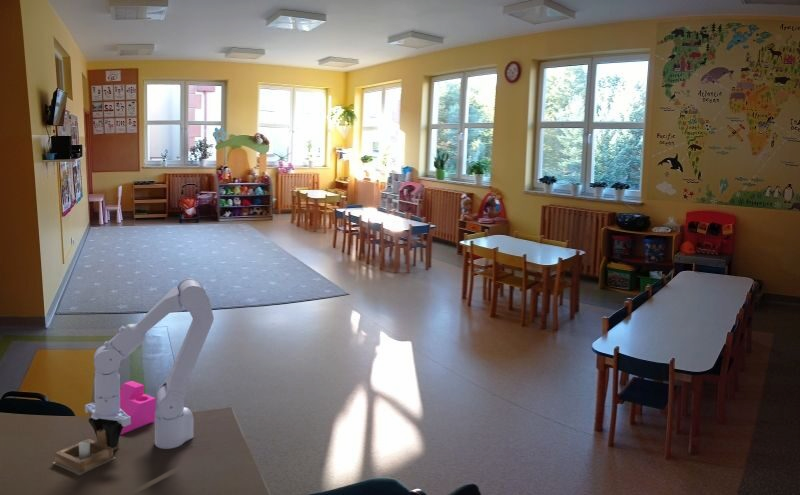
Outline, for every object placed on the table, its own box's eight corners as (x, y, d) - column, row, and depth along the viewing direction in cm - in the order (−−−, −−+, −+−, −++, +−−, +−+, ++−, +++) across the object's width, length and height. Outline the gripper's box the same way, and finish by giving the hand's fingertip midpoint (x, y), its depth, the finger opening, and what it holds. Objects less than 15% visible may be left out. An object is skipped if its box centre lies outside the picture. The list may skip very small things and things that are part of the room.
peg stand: (89, 450, 160) (89, 430, 159) (116, 461, 156) (116, 440, 155) (52, 466, 151) (51, 445, 151) (79, 479, 147) (79, 456, 146)
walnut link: (103, 442, 163) (102, 421, 162) (126, 451, 159) (126, 430, 158) (55, 462, 152) (54, 441, 151) (79, 473, 147) (79, 451, 147)
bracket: (131, 414, 182) (131, 380, 181) (155, 424, 177) (155, 389, 176) (93, 429, 172) (93, 393, 170) (117, 439, 167) (117, 402, 165)
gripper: (73, 392, 157) (74, 443, 159) (113, 406, 150) (113, 459, 152) (98, 383, 163) (99, 433, 165) (137, 397, 156) (138, 448, 158)
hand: (107, 445), depth 159 cm, fingers closed on walnut link, 3 cm apart
